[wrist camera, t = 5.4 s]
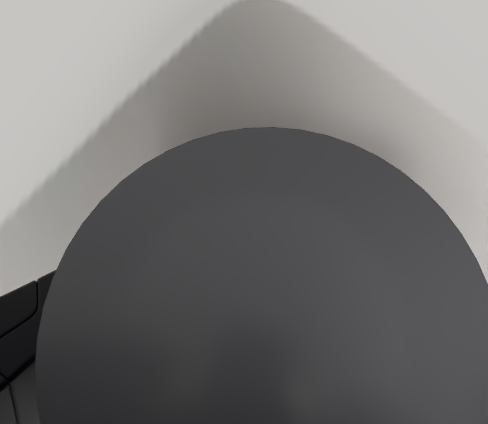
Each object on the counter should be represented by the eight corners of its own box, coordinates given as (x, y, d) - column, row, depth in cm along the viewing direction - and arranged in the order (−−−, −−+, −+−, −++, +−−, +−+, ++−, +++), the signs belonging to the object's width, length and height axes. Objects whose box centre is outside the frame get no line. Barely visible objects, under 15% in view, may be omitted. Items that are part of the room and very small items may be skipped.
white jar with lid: (256, 406, 15) (320, 764, 3) (161, 324, 15) (-67, 382, 4) (330, 306, 16) (589, 307, 4) (238, 232, 16) (237, 53, 5)
